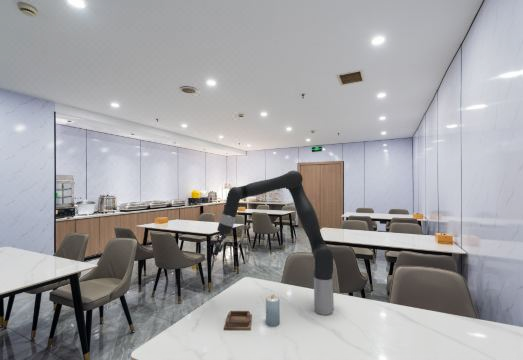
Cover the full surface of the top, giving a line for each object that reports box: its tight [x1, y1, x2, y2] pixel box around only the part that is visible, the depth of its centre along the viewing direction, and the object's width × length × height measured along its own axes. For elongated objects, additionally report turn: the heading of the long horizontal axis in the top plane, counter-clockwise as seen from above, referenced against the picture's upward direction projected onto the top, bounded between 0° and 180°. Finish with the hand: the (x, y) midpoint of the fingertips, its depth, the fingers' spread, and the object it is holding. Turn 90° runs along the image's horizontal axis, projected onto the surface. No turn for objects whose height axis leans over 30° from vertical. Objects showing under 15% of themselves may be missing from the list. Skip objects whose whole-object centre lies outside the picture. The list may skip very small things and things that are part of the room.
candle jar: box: [265, 294, 281, 328], centre depth 115 cm, size 6×6×13 cm
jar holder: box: [223, 310, 253, 331], centre depth 115 cm, size 12×12×3 cm
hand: (217, 253), depth 128 cm, fingers open, 8 cm apart
